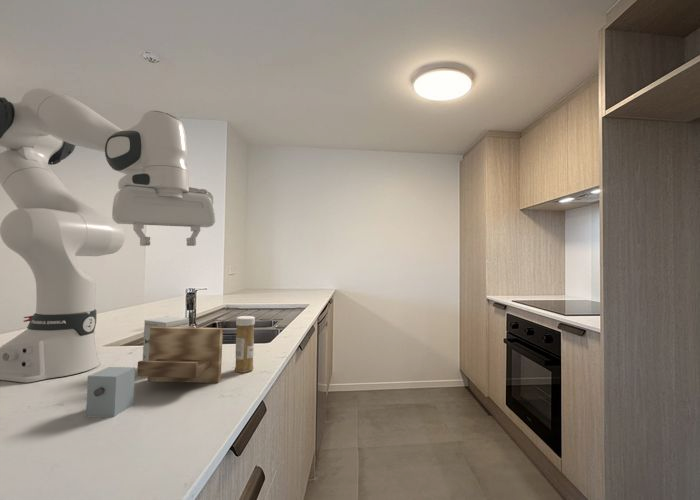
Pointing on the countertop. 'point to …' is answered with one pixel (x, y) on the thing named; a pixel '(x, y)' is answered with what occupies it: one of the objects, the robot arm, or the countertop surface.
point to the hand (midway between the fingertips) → (169, 245)
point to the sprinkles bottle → (244, 343)
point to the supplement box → (160, 322)
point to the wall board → (183, 355)
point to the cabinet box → (110, 391)
